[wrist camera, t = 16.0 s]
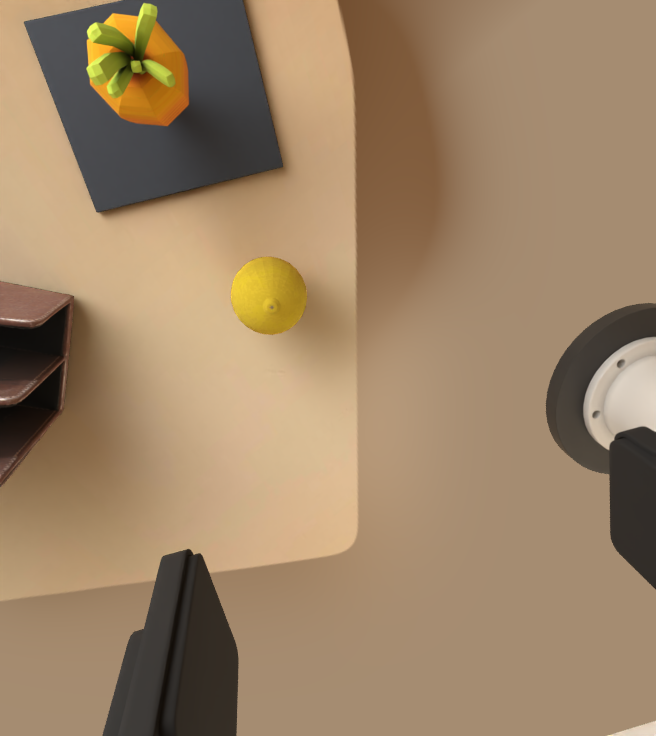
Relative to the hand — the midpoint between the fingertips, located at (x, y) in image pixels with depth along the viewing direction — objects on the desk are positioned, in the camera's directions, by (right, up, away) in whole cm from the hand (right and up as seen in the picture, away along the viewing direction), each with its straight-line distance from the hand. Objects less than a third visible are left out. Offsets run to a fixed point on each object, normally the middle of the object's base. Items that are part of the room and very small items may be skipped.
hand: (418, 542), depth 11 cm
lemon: (-7, +11, +30) cm, 32 cm away
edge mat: (-13, +23, +24) cm, 36 cm away
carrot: (-13, +22, +24) cm, 35 cm away
